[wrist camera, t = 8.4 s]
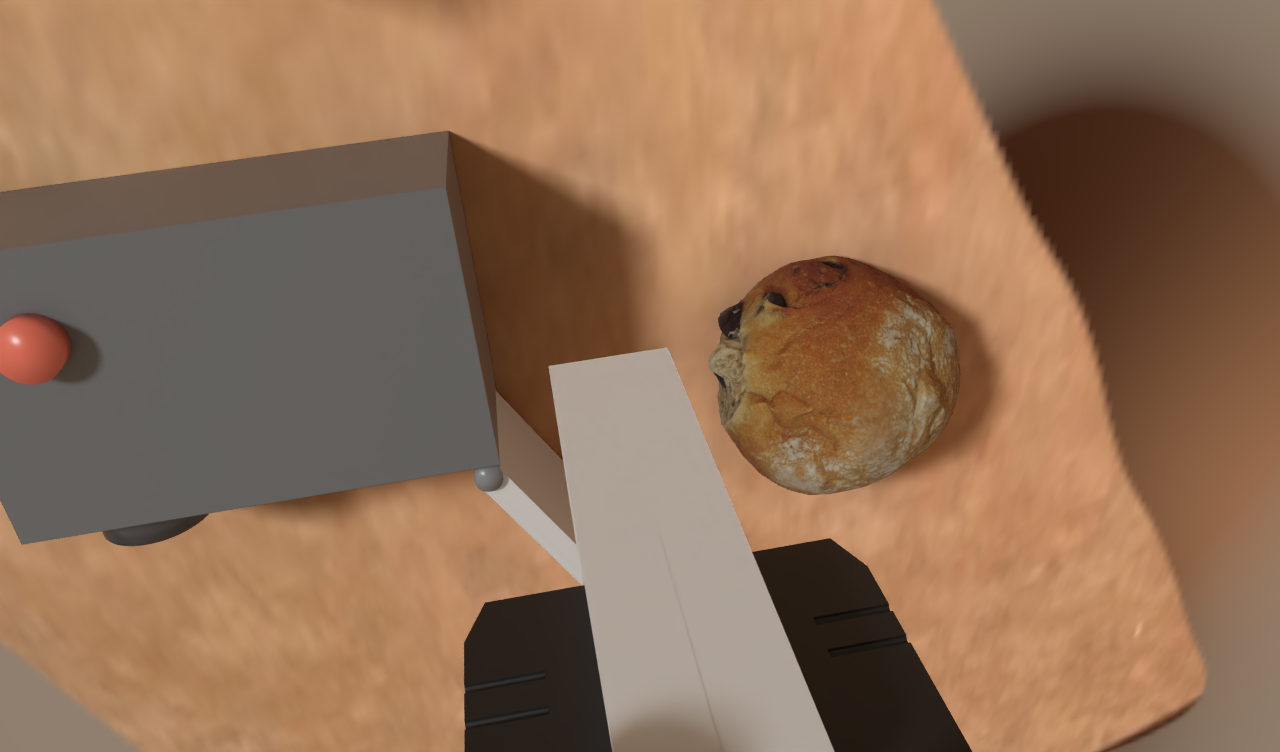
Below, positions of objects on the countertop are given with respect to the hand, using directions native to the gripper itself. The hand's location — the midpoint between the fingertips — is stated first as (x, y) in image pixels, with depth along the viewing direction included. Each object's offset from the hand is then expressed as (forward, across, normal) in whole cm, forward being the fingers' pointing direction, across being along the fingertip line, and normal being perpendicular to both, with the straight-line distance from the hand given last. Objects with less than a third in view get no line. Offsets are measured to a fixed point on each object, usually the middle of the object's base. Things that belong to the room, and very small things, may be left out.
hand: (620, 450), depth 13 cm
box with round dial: (+26, -11, -7) cm, 29 cm away
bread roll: (+27, +11, -14) cm, 32 cm away
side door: (+26, -1, -16) cm, 31 cm away
